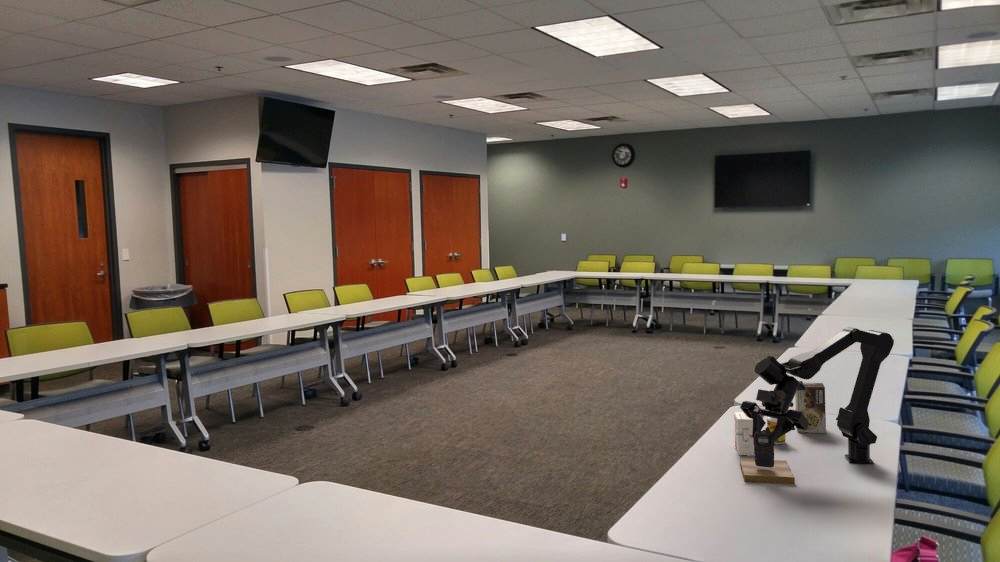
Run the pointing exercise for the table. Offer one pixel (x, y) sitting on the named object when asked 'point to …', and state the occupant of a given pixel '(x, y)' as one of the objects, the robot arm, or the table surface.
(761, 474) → the tan flat wooden block
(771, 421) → the supplement bottle
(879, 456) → the table surface
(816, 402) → the coffee box
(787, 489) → the table surface
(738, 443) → the ink cartridge box
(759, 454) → the two-way radio
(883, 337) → the robot arm
